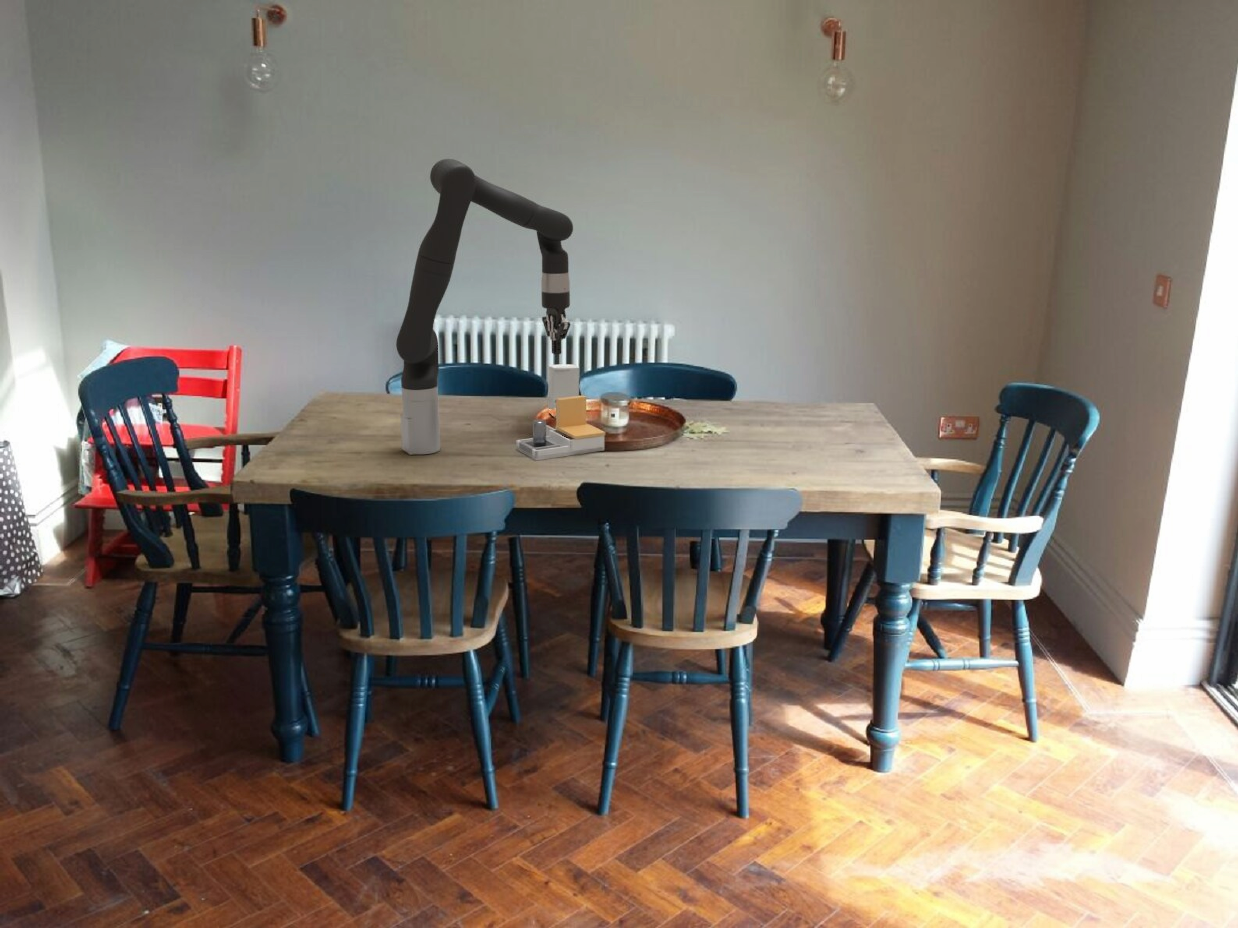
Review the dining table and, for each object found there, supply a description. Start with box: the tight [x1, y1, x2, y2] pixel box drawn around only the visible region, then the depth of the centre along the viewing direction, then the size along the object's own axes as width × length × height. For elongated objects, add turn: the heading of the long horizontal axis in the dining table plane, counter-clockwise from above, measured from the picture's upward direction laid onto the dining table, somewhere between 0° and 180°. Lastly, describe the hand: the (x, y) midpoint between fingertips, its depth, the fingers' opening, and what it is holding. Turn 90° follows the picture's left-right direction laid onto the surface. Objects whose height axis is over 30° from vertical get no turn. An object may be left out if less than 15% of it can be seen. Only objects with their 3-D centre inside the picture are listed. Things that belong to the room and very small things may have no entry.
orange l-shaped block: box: [554, 395, 606, 439], centre depth 299 cm, size 9×12×8 cm
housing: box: [515, 424, 605, 461], centre depth 302 cm, size 20×20×4 cm
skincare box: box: [547, 363, 580, 409], centre depth 334 cm, size 8×6×15 cm
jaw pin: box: [532, 419, 547, 448], centre depth 295 cm, size 4×4×8 cm
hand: (556, 353), depth 306 cm, fingers closed
